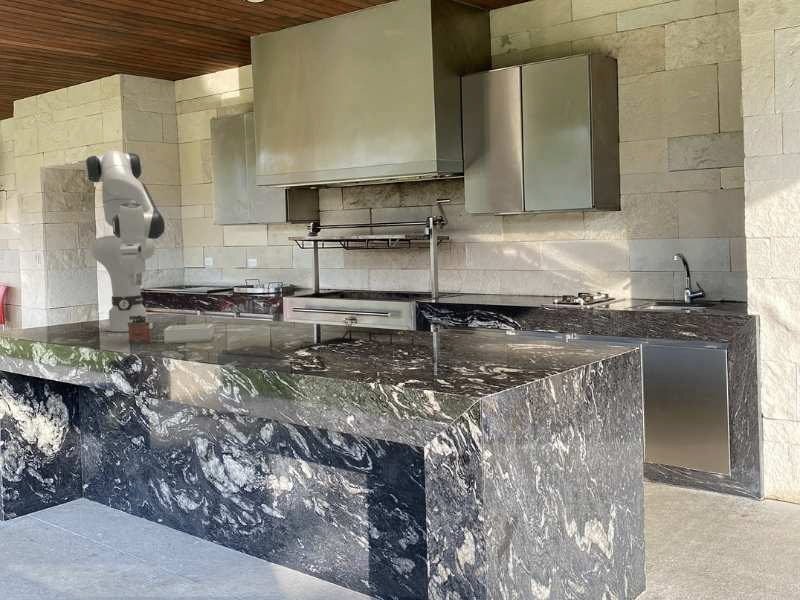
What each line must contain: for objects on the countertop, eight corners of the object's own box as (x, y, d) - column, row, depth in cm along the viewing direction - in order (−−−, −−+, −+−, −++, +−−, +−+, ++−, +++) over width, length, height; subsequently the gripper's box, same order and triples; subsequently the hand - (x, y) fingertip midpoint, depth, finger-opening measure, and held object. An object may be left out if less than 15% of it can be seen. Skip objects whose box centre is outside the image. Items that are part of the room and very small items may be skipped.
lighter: (152, 341, 312) (150, 314, 311) (148, 343, 309) (146, 315, 308) (131, 342, 313) (129, 315, 312) (127, 343, 310) (125, 316, 309)
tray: (170, 339, 318) (169, 325, 317) (214, 337, 319) (213, 323, 319) (164, 343, 306) (163, 329, 305) (209, 341, 307) (209, 327, 307)
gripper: (131, 247, 318) (133, 284, 319) (118, 249, 298) (120, 288, 299) (148, 246, 318) (150, 283, 320) (136, 248, 298) (139, 287, 299)
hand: (136, 286), depth 309 cm, fingers open, 8 cm apart
